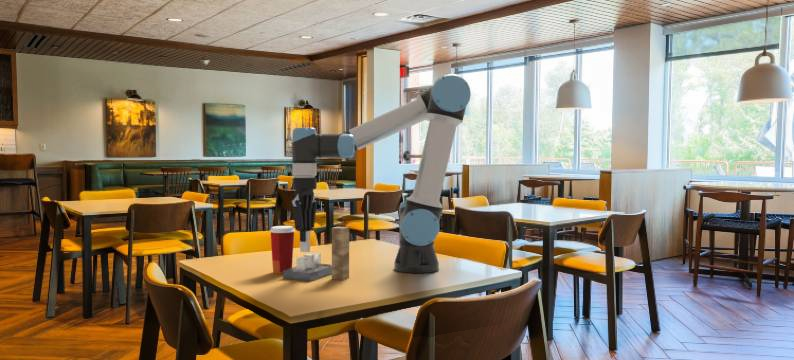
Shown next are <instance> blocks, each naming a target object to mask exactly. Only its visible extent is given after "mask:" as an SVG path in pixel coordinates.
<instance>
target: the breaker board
mask: <svg viewBox="0 0 794 360" xmlns="http://www.w3.org/2000/svg"><path fill="white" fill-rule="evenodd" d="M310 254H313V255H314V267H313V268H308V267H307V257H304V256H298V257H296V266H292V268H290V269H287V270H283V274H282V275H283V277H282V278H283V279H285V280H295V281H302V282H303V281H305V282H312V281H315V280H319V279H321V278H324V277H327V276H329V275H332V263H331V264H330V263H322V253H316V252H312V253H310Z"/></svg>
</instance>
